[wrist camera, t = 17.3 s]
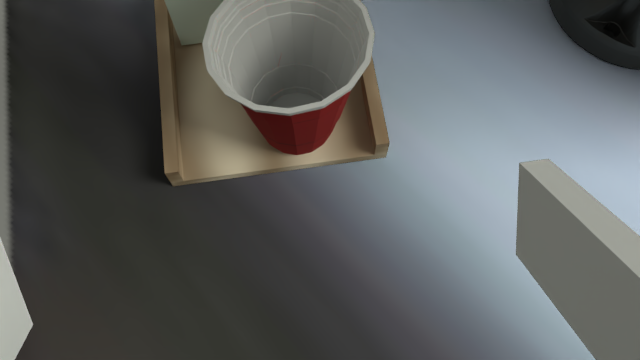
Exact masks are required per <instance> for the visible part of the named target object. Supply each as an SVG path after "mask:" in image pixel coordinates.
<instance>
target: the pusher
mask: <svg viewBox="0 0 640 360" xmlns="http://www.w3.org/2000/svg"><path fill="white" fill-rule="evenodd" d="M164 1H165V4H166V6H167V9H168V11H169V14H170V17H171V19H172V22H173V24H174V27H175V30H176V32H177V35H178V37H179V40H180V42H181V45H189V44H197V43H203V39H204V36H205V32H206V29H207V26H208V22H209V19H210V16H211V15H212V14H213V13H214V12H215V10H216V9H217V8H218V7H219V6H220V5H221V3H222V2H223V1H224V0H164Z"/></svg>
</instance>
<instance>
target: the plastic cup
mask: <svg viewBox="0 0 640 360" xmlns="http://www.w3.org/2000/svg"><path fill="white" fill-rule="evenodd" d="M374 36H375V32H374V29H373V26H372V23H371V20H370V17H369V14H368V11H367V8H366V7H365V5H364V4H363V3H362V2H361V1H360V0H224V1H223V2H222V3H221V5H220V6H219V7H218V8H217V9H216V10H215V12H214V13H213V14H212V15H211V16H210V19H209V22H208V26H207V29H206V32H205V36H204V39H203V43H202V45H203V51H204V56H205V62H206V68H207V71H208V73H209V74H210V75H211V77H212V78H213V79H214V81H215V82H216V83H217V84H218V86H219V87H220V88H221V90H222V91H223V92H224V94H225V95H226V96H227V97H229V98H231V99H233V100H235V101H237V102H238V103H240V104H241V105H242V107H243V108H244V110H245V111H246V113H247V114H248V116H249V117H250V119H251V120H252V122H253V123H254V124H255V126H256V127H257V128H258V130H259V131H260V132H261V134H262V135H263V137H264V138H265V139H266V141H267V142H268V143H269V145H271V146H272V147H274V148H276V149H277V150H279V151H281V152H283V153H286V154H292V155H301V154H306V153H311V152H313V151H314V150H316V149H317V148H319V147H320V146H322V145H323V144H324V143H325V142H326V140H327V139H328V138H329V136H330V135H331V133H332V132H333V129H334V127H335V125H336V123H337V121H338V120H339V118H340V116H341V114H342V111H343V109H344V107H345V104H346V102H347V99H348V97H349V95H350V92H351V90H352V88H353V87H354V86H355V84H356V83H357V81H358V80H359V78H360V77H361V75H362V74H363V73H364V71H365V70H366V68H367V67H368V65H369V63H370V61H371V55H372V49H373V43H374Z"/></svg>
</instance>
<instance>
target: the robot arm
mask: <svg viewBox="0 0 640 360" xmlns="http://www.w3.org/2000/svg"><path fill="white" fill-rule="evenodd" d="M549 2H550V5H551V8H552V11H553V13H554V15H555V17H556V19H557V20H558V22H559V24H560V25H561V27H562V28H563V29H564V30H565V32H566V33H567V34H568V35H569V36H570V37H571V38H572V39H573V40H574V41H575V42H576V43H577V44H579V45H580V46H581V47H582V48H584V49H585V50H587V51H588V52H590V53H591V54H593V55H595V56H597V57H599V58H601V59H603V60H605V61H607V62H610V63H613V64H615V65H619V66H622V67H627V68H632V69H639V70H640V0H549ZM516 255H517V256H518V258H519V259H520V260H521V262H522V263H523V264H524V266H525V267H526V268H527V270H528V271H529V272H530V274H531V275H532V276H533V278H534V279H535V280H536V281H537V283H538V284H539V285H540V287H541V288H542V289H543V291H544V292H545V293H546V295H547V296H548V297H549V299H550V300H551V301H552V303H553V304H554V305H555V306H556V308H557V309H558V310H559V312H560V313H561V314H562V316H563V317H564V318H565V320H566V321H567V322H568V324H569V325H570V326H571V328H572V329H573V330H574V332H575V333H576V334H577V335H578V337H579V338H580V339H581V341H582V342H583V343H584V345H585V346H586V347H587V349H588V350H589V351H590V353H591V354H592V355H593V357H594V358H595V359H596V360H640V236H639V235H638V234H636V233H635V232H634V231H633V230H632V229H631V228H629V227H628V226H627V225H626V224H625V223H624V222H622V221H621V220H620V219H619V218H618V217H616V216H615V215H614V214H613V213H612V212H611V211H609V210H608V209H607V208H606V207H605V206H603V205H602V204H601V203H600V202H599V201H598V200H596V199H595V198H594V197H593V196H592V195H591V194H589V193H588V192H587V191H586V190H585V189H583V188H582V187H581V186H580V185H579V184H578V183H576V182H575V181H574V180H573V179H572V178H571V177H569V176H568V175H567V174H566V173H565V172H563V171H562V170H561V169H560V168H559V167H558V166H556V165H555V164H554V163H553V162H552V161H550V160H549V159H543V160H536V161H529V162H521V163H519V186H518V213H517V239H516ZM32 326H33V323H32V321H31V318H30V315H29V313H28V310H27V307H26V305H25V302H24V299H23V297H22V294H21V291H20V289H19V286H18V283H17V281H16V278H15V275H14V273H13V270H12V267H11V265H10V262H9V259H8V257H7V254H6V251H5V249H4V246H3V243H2V241H1V238H0V360H15V358H16V356H17V354H18V352H19V350H20V348H21V347H22V345H23V343H24V341H25V339H26V337H27V335H28V333H29V331H30V330H31V328H32Z"/></svg>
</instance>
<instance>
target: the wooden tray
mask: <svg viewBox="0 0 640 360" xmlns="http://www.w3.org/2000/svg"><path fill="white" fill-rule="evenodd" d="M360 1H361V0H360ZM154 4H155V20H156V37H157V54H158V71H159V87H160V104H161V121H162V137H163V154H164V171H165V175H166V176H167V178H168V179H169V181H170V182H171V184H172V185H173V186H179V185H186V184H193V183H201V182H208V181H215V180H223V179H230V178H238V177H245V176H252V175H260V174H267V173H274V172H282V171H289V170H296V169H304V168H311V167H318V166H326V165H333V164H340V163H348V162H355V161H362V160H370V159H377V158H384V157H386V155H387V151H388V147H389V138H388V133H387V128H386V123H385V118H384V113H383V108H382V104H381V99H380V94H379V89H378V84H377V79H376V74H375V69H374V64H373V59H372V55H371V61H370V63H369V65H368V67H367V68H366V70H365V71H364V73H363V74H362V75H361V77H360V78H359V80H358V81H357V83H356V84H355V86H354V87H353V88H352V90H351V92H350V95H349V97H348V99H347V102H346V104H345V107H344V109H343V111H342V114H341V116H340V118H339V120H338V121H337V123H336V125H335V127H334V129H333V132H332V133H331V135H330V136H329V138H328V139H327V140H326V142H325V143H324V144H323V145H322V146H320V147H319V148H317V149H316V150H314V151H313V152H311V153H306V154H301V155H292V154H286V153H283V152H281V151H279V150H277V149H276V148H274V147H272V146H271V145H269V143H268V142H267V141H266V139H265V138H264V137H263V135H262V134H261V132H260V131H259V130H258V128H257V127H256V126H255V124H254V123H253V122H252V120H251V119H250V117H249V116H248V114H247V113H246V111H245V110H244V108H243V107H242V105H241V104H240V103H238V102H237V101H235V100H233V99H231V98H229V97H227V96H226V95H225V94H224V92H223V91H222V90H221V88H220V87H219V86H218V84H217V83H216V82H215V81H214V79H213V78H212V77H211V75H210V74H209V73H208V71H207V68H206V62H205V56H204V51H203V45H202V43H197V44H189V45H181V42H180V40H179V37H178V35H177V32H176V30H175V27H174V24H173V22H172V19H171V17H170V14H169V11H168V9H167V6H166V4H165V1H164V0H154Z"/></svg>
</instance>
